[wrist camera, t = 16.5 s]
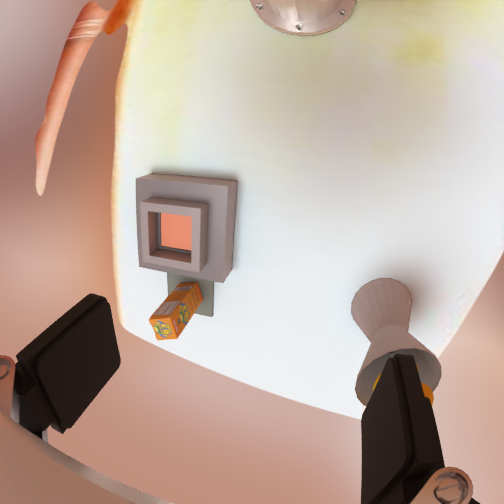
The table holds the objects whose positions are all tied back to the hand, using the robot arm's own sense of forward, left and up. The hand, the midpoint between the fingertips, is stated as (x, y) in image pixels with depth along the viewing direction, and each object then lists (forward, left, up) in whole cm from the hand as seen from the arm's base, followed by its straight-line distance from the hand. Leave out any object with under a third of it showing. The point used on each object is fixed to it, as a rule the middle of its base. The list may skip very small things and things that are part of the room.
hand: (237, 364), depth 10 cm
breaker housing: (+6, -14, -30) cm, 34 cm away
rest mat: (+17, -14, -30) cm, 37 cm away
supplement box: (+16, -14, -30) cm, 37 cm away
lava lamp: (+14, +13, -31) cm, 36 cm away
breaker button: (+6, -14, -29) cm, 33 cm away
